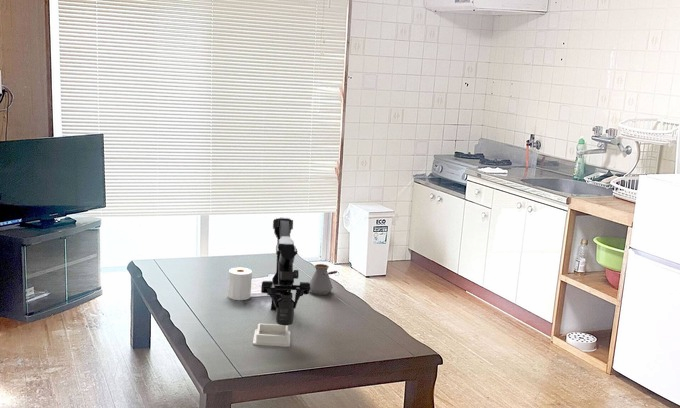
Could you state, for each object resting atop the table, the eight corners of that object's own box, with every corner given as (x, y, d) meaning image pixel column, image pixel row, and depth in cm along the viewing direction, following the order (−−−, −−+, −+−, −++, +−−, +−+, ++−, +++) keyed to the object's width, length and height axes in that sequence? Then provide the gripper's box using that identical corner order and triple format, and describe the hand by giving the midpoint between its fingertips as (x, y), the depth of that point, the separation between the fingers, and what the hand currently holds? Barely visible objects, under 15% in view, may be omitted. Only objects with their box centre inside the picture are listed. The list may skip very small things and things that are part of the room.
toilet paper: (235, 301, 320) (237, 275, 318) (223, 294, 328) (224, 269, 325) (255, 298, 327) (256, 272, 324) (242, 291, 334) (243, 266, 332)
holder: (252, 344, 276) (253, 335, 275) (254, 330, 290) (255, 322, 289) (289, 346, 277) (290, 337, 276) (290, 332, 291) (290, 324, 290)
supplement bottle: (297, 323, 283) (299, 293, 281) (285, 327, 278) (286, 297, 275) (284, 318, 287) (286, 289, 285) (272, 322, 282) (273, 292, 280)
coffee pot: (303, 289, 344) (305, 258, 341) (325, 287, 349) (327, 257, 346) (323, 304, 326) (325, 272, 323) (346, 302, 331) (348, 270, 328)
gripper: (263, 261, 280) (262, 298, 272) (311, 262, 283) (312, 299, 275) (261, 274, 289) (260, 310, 281) (308, 275, 292) (308, 311, 284)
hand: (285, 307), depth 280 cm, fingers closed on supplement bottle, 7 cm apart
